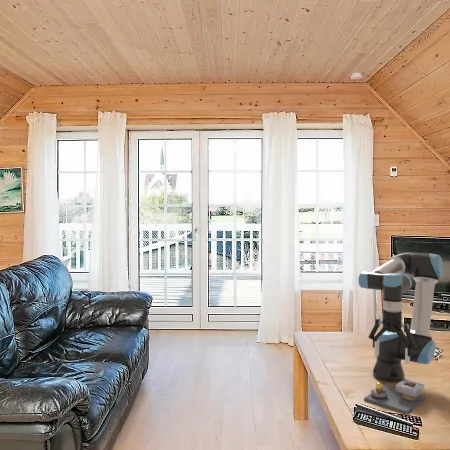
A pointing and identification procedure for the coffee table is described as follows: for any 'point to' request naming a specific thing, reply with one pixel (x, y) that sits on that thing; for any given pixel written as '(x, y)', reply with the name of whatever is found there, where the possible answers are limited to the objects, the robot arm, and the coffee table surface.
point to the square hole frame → (410, 388)
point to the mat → (395, 401)
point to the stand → (408, 397)
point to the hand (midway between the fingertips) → (391, 359)
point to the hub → (379, 392)
